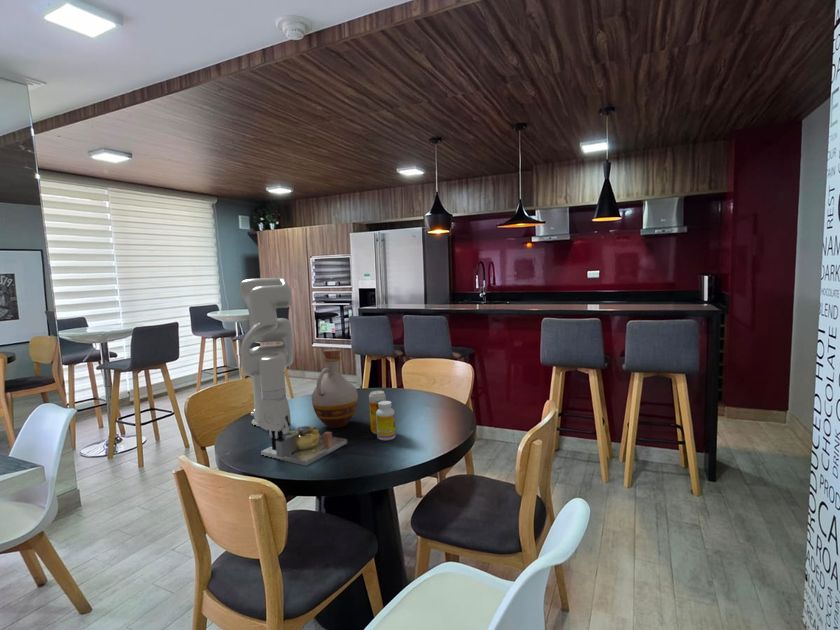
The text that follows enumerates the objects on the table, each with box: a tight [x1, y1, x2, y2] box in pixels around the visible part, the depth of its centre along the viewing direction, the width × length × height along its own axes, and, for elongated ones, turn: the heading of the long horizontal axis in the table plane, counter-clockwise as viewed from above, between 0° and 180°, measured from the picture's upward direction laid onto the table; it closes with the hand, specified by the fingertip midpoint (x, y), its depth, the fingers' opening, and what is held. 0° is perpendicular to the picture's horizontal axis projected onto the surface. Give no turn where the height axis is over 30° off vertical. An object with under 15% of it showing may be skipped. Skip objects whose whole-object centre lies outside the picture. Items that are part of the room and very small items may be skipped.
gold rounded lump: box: [276, 425, 320, 457], centre depth 147 cm, size 16×10×6 cm, turn 152°
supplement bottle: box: [376, 400, 397, 441], centre depth 157 cm, size 7×7×13 cm
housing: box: [260, 431, 348, 467], centre depth 150 cm, size 20×20×6 cm
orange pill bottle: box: [368, 390, 387, 435], centre depth 163 cm, size 6×6×15 cm
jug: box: [311, 349, 359, 429], centre depth 172 cm, size 20×18×30 cm
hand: (277, 448), depth 144 cm, fingers closed
